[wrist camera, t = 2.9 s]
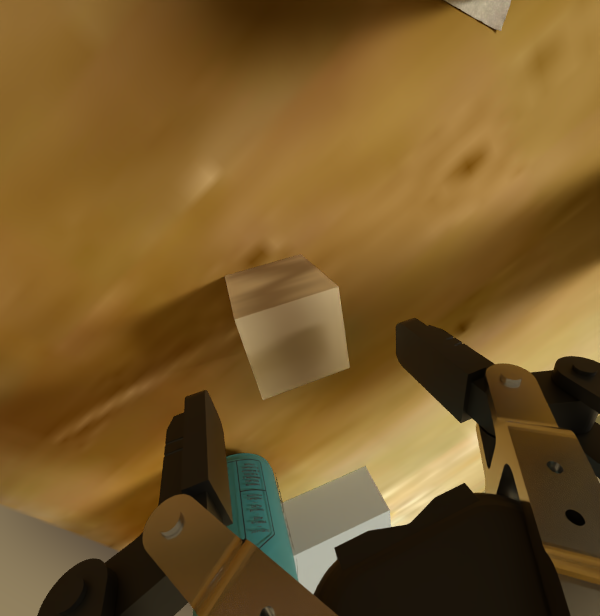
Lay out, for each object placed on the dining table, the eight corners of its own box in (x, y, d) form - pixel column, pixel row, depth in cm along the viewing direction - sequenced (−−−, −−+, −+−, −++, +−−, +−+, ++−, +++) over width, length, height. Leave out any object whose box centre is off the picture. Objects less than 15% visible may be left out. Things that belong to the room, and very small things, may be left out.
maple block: (300, 253, 19) (338, 286, 14) (313, 318, 21) (349, 367, 16) (224, 275, 18) (234, 319, 13) (247, 341, 20) (262, 400, 15)
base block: (363, 462, 31) (389, 510, 27) (372, 527, 38) (394, 573, 34) (236, 518, 29) (242, 580, 24) (269, 577, 35) (279, 633, 31)
